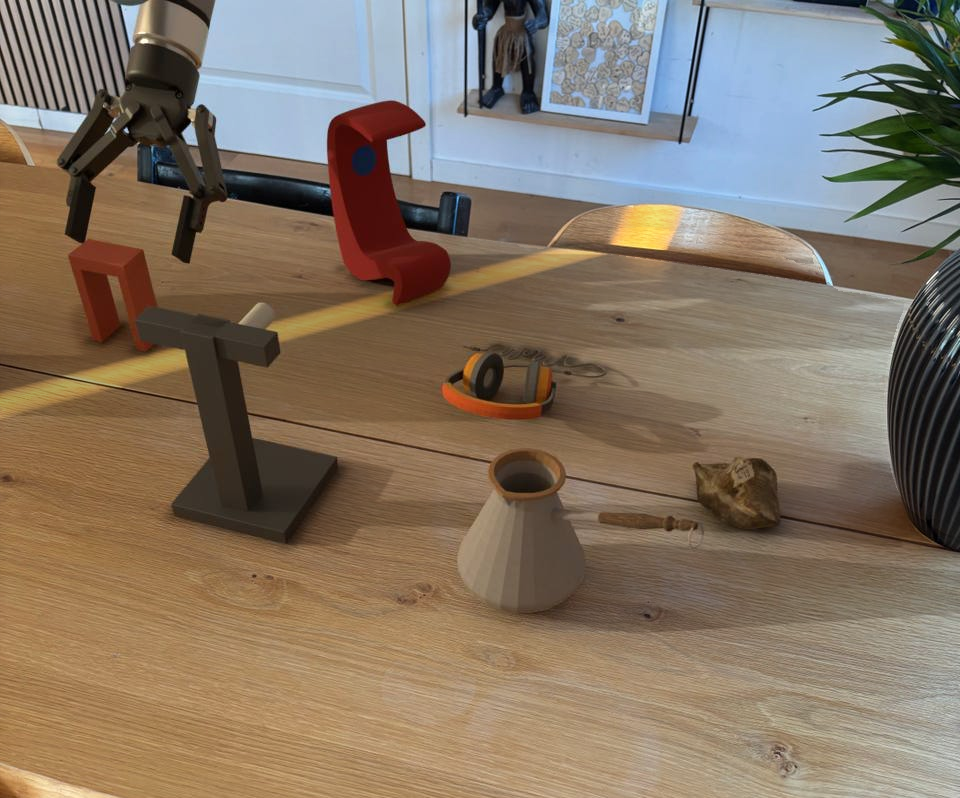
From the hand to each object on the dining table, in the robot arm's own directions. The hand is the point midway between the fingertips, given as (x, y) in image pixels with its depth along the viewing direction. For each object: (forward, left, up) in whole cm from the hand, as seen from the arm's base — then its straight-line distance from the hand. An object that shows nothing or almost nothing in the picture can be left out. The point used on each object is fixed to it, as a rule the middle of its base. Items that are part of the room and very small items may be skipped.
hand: (126, 249), depth 114 cm
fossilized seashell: (+72, -11, -9) cm, 73 cm away
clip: (0, -4, -9) cm, 10 cm away
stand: (+27, -24, -9) cm, 37 cm away
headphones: (+46, 0, -9) cm, 47 cm away
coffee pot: (+60, -29, -9) cm, 67 cm away
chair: (+24, +19, -9) cm, 32 cm away
